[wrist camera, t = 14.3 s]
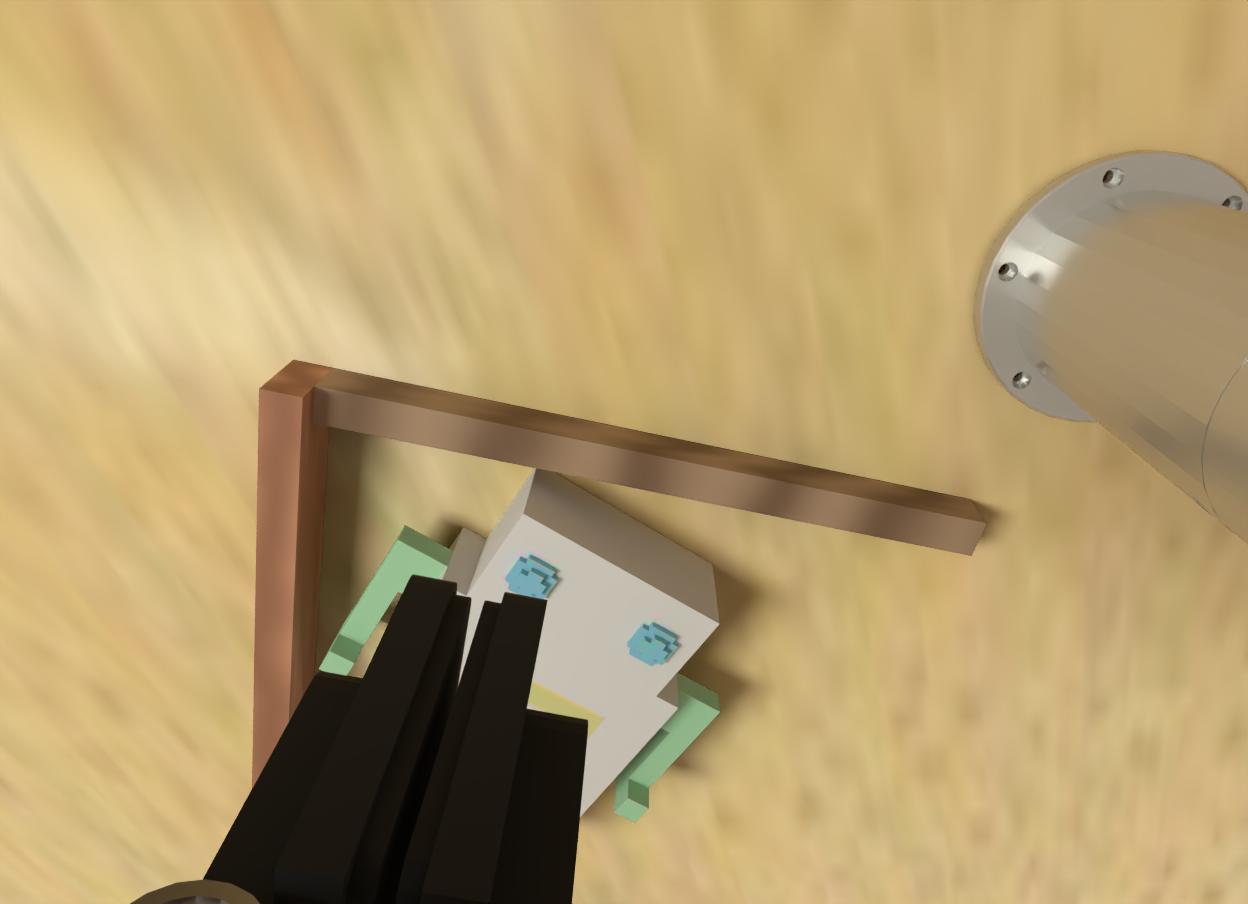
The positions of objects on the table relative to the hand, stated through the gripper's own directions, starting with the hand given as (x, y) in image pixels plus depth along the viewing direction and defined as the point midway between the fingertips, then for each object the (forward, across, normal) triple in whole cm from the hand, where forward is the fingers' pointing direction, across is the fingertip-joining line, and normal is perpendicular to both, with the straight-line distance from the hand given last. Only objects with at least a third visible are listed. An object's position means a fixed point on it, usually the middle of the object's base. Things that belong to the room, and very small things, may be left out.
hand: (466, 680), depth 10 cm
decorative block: (+32, 0, +27) cm, 42 cm away
